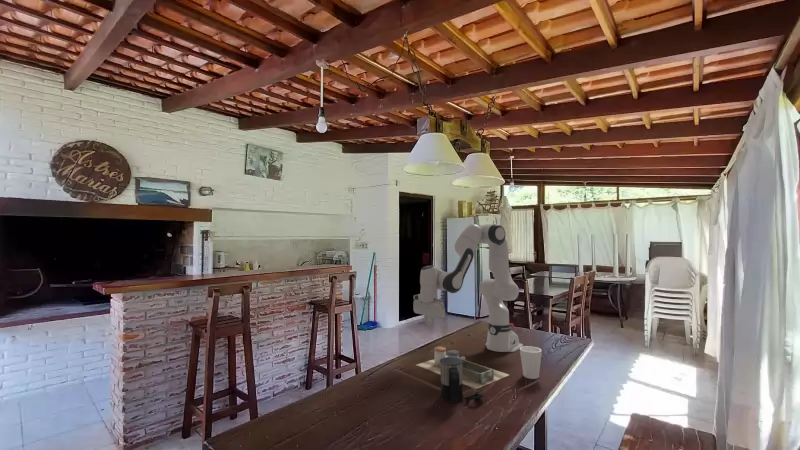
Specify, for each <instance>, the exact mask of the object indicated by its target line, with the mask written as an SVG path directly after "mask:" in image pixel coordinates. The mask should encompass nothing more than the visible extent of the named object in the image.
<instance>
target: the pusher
mask: <svg viewBox="0 0 800 450" xmlns="http://www.w3.org/2000/svg"><path fill="white" fill-rule="evenodd" d="M458 359H461V360H462V361H463V362H462V367H463V368H465V360H466V356H464V355H462V356H459V358H458Z"/></svg>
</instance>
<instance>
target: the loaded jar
mask: <svg viewBox="0 0 800 450" xmlns="http://www.w3.org/2000/svg"><path fill="white" fill-rule="evenodd" d="M446 355H447V357H448V358H449V357H453V358H459V357H460V351H459V350H455V349H449V350H446Z"/></svg>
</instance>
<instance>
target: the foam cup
mask: <svg viewBox="0 0 800 450" xmlns="http://www.w3.org/2000/svg"><path fill="white" fill-rule="evenodd" d="M542 350H543V349H541V348H540V347H538V346H532V345H529V346H528V345H525V346H524V345H523V347H520V349H519V355H520V360H521V368H522V374H523V377H524V378H525V379H526V378H527V379H530V380H534V381H535V382H536V381H539V377H540V371H541V360H542V357H543V354H542V352H543V351H542ZM535 379H536V380H535Z"/></svg>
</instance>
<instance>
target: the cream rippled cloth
mask: <svg viewBox="0 0 800 450" xmlns="http://www.w3.org/2000/svg"><path fill="white" fill-rule="evenodd" d="M446 358H447V354H446ZM417 366H418V367H420V368H422V369H424V370H427V371H429V372H432V373H435V374H438V375H439V376H441V362H440V367H439V366H435V358H434V359H431V360H430V359H429V360H426V361H424V362H421V363H418V364H416V367H417ZM509 376H510V374H508V373H505V372H503V371H501V370H496V369H493V368H492V367H488V366H485V365H481V364H478V363H476V362H472V361H469V360H467V359H465V368H463V367H462V385H465V386H467V387H470V388H469V389H470V391H471V390H472V391H474V392H479V390H478V389H480V388H481V387H484V386H487V385H489V384H492V383H494V382H497V381H499V380H501V379H503V378H506V377H509Z"/></svg>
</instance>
